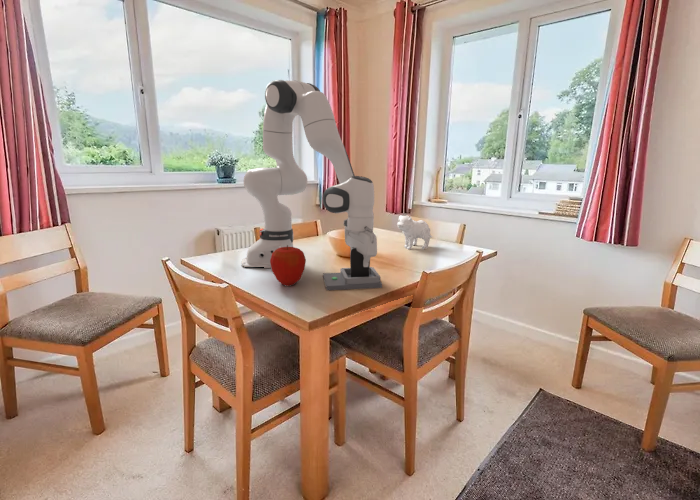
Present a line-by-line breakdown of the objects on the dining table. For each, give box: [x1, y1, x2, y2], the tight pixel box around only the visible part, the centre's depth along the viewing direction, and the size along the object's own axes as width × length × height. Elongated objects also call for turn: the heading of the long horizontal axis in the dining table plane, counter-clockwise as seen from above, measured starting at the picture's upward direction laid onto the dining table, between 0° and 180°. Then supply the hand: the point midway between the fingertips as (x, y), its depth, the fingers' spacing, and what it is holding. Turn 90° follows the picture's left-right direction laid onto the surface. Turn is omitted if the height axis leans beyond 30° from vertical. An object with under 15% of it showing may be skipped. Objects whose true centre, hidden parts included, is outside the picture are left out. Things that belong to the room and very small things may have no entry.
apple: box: [270, 245, 307, 287], centre depth 125 cm, size 12×12×14 cm
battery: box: [349, 247, 371, 277], centre depth 128 cm, size 7×4×11 cm, turn 91°
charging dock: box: [322, 266, 383, 291], centre depth 129 cm, size 19×14×4 cm
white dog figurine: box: [394, 214, 434, 251], centre depth 180 cm, size 25×10×17 cm, turn 125°
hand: (359, 262), depth 128 cm, fingers open, 8 cm apart
